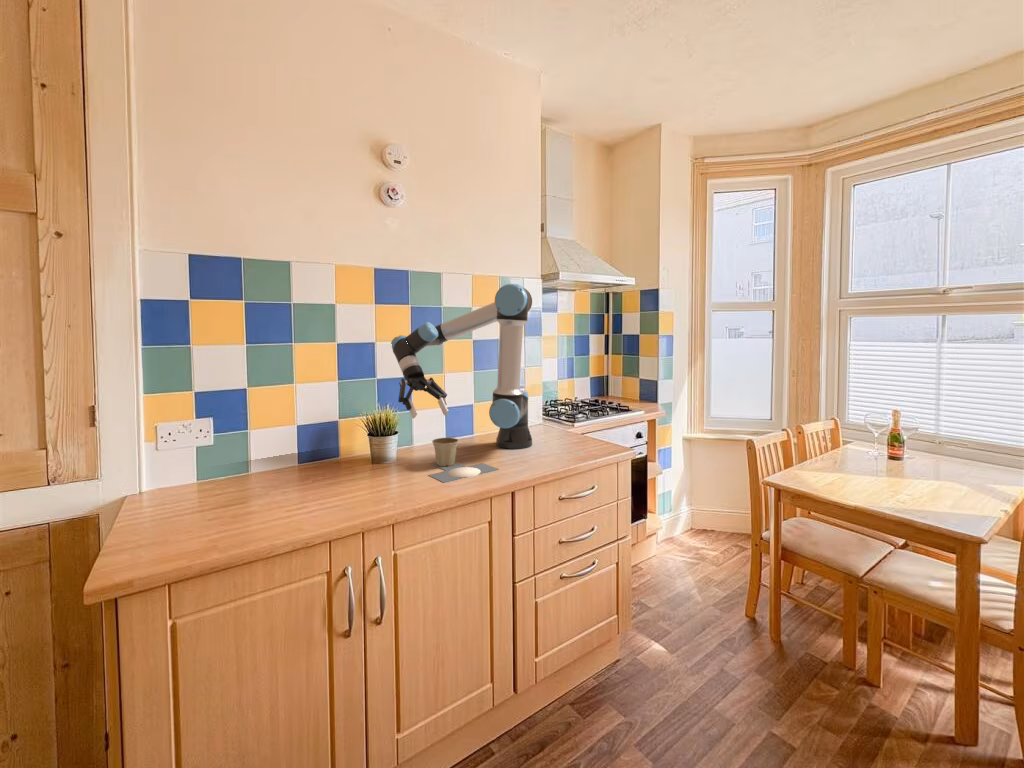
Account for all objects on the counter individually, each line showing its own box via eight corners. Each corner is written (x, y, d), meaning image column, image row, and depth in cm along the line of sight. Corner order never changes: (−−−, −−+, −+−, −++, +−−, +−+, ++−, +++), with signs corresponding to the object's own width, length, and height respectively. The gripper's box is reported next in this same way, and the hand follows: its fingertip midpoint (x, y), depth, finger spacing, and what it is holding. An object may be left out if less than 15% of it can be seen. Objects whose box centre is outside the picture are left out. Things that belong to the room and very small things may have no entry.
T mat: (411, 467, 163) (411, 466, 163) (464, 456, 176) (464, 455, 176) (444, 483, 145) (444, 482, 145) (500, 470, 159) (500, 469, 159)
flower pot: (461, 460, 170) (461, 437, 169) (456, 468, 161) (455, 444, 160) (436, 460, 171) (436, 437, 170) (429, 467, 161) (428, 443, 160)
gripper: (434, 375, 192) (454, 417, 183) (378, 376, 175) (396, 423, 166) (442, 363, 187) (462, 406, 178) (385, 364, 171) (404, 411, 162)
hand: (431, 414), depth 172 cm, fingers open, 13 cm apart
